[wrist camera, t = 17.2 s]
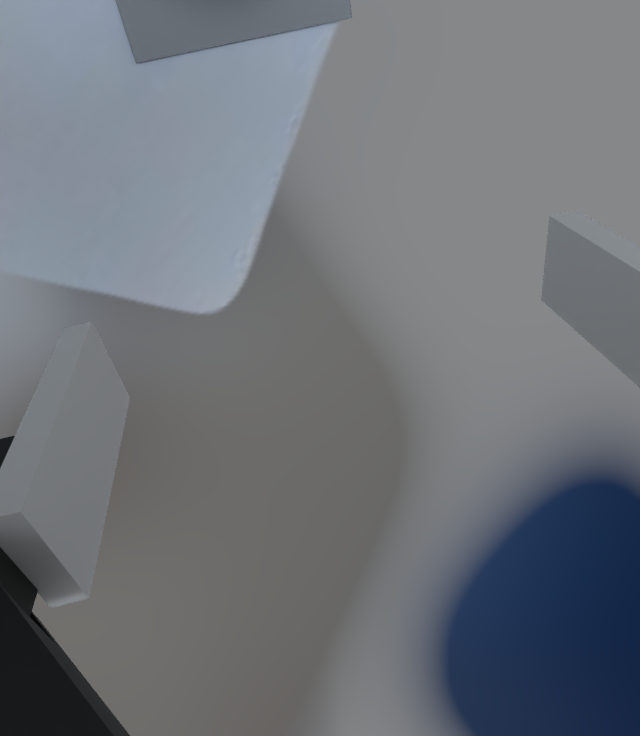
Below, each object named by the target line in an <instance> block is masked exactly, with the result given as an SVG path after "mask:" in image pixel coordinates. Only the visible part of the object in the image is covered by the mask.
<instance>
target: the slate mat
mask: <svg viewBox="0 0 640 736" xmlns="http://www.w3.org/2000/svg"><path fill="white" fill-rule="evenodd" d="M116 3H117V6H118V9H119V12H120V15H121V18H122V21H123V24H124V27H125V30H126V33H127V36H128V40H129V43H130V46H131V49H132V52H133V55H134V58H135V61H136V63H140V62H144V61H149V60H154V59H159V58H163V57H168V56H173V55H178V54H182V53H187V52H192V51H197V50H201V49H206V48H211V47H216V46H220V45H225V44H230V43H235V42H239V41H244V40H249V39H254V38H258V37H263V36H268V35H273V34H277V33H282V32H287V31H292V30H296V29H301V28H306V27H311V26H315V25H320V24H325V23H330V22H334V21H339V20H344V19H348V18H352V13H351V4H350V0H116Z"/></svg>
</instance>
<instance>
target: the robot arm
mask: <svg viewBox="0 0 640 736" xmlns="http://www.w3.org/2000/svg"><path fill="white" fill-rule="evenodd" d="M544 266H545V267H544V276H543V286H542V297H541V300H542V301H543V302H544V303H545V304H546V305H547V306H548V307H550V308H551V309H552V310H553V311H554V312H555V313H556V314H557V315H559V316H560V317H561V318H562V319H563V320H564V321H565V322H566V323H568V324H569V325H570V326H571V327H572V328H573V329H574V330H575V331H577V332H578V333H579V334H580V335H581V336H582V337H583V338H585V339H586V340H587V341H588V342H589V343H590V344H591V345H592V346H593V347H595V348H596V349H597V350H598V351H599V352H600V353H601V354H603V355H604V356H605V357H606V358H607V359H608V360H609V361H610V362H611V363H613V364H614V365H615V366H616V367H617V368H618V369H619V370H620V371H622V372H623V373H624V374H625V375H626V376H627V377H628V378H629V379H631V380H632V381H633V382H634V383H635V384H636V385H637V386H638V387H639V388H640V246H639V245H637V244H635V243H633V242H632V241H630V240H628V239H626V238H624V237H623V236H621V235H619V234H617V233H616V232H614V231H612V230H610V229H608V228H607V227H605V226H603V225H601V224H600V223H598V222H596V221H594V220H592V219H591V218H589V217H587V216H585V215H583V214H582V213H580V212H578V211H576V210H572V211H568V212H563V213H559V214H554V215H550V216H549V225H548V234H547V245H546V255H545V265H544ZM129 400H130V398H129V395H128V393H127V391H126V389H125V387H124V385H123V383H122V381H121V379H120V377H119V375H118V373H117V371H116V369H115V367H114V365H113V363H112V361H111V359H110V357H109V355H108V353H107V351H106V349H105V347H104V345H103V343H102V341H101V339H100V337H99V335H98V333H97V331H96V329H95V326H94V325H93V323H92V322H87V323H83V324H79V325H74V326H70V327H65V328H64V329H63V331H62V334H61V336H60V338H59V340H58V342H57V345H56V347H55V349H54V351H53V353H52V356H51V358H50V360H49V362H48V365H47V367H46V369H45V371H44V373H43V376H42V378H41V380H40V382H39V385H38V386H37V389H36V391H35V393H34V395H33V398H32V400H31V402H30V404H29V406H28V408H27V411H26V413H25V415H24V418H23V419H22V422H21V424H20V426H19V428H18V430H17V433H16V435H15V436H11V437H7V438H3V439H0V736H130V735H129V734H128V733H127V731H126V730H125V729H124V727H123V726H122V725H121V724H120V722H119V721H118V720H117V718H116V717H115V716H114V715H113V713H112V712H111V711H110V710H109V708H108V707H107V706H106V704H105V703H104V702H103V701H102V699H101V698H100V697H99V696H98V694H97V693H96V692H95V691H94V689H93V688H92V687H91V685H90V684H89V683H88V682H87V680H86V679H85V678H84V677H83V675H82V674H81V672H80V671H79V670H78V669H77V667H76V666H75V665H74V664H73V662H72V661H71V660H70V658H69V657H68V656H67V655H66V654H65V652H64V651H63V650H62V648H61V647H60V646H59V644H58V643H57V642H56V641H55V639H54V638H53V637H52V636H51V634H50V633H49V632H48V631H47V629H46V628H45V627H44V625H43V624H42V623H41V621H40V620H39V619H38V618H37V617H36V616H35V615H34V614H33V612H32V608H33V605H34V601H35V598H36V595H37V592H38V594H40V596H41V597H42V598H43V599H44V600H45V601H46V603H47V604H48V605H49V606H50V607H51V608H52V607H56V606H60V605H64V604H68V603H72V602H76V601H80V600H84V599H88V598H89V595H90V591H91V585H92V581H93V576H94V571H95V566H96V561H97V556H98V552H99V547H100V542H101V537H102V532H103V527H104V522H105V517H106V512H107V508H108V503H109V498H110V493H111V488H112V483H113V478H114V473H115V469H116V464H117V458H118V454H119V449H120V444H121V439H122V434H123V429H124V425H125V420H126V414H127V409H128V405H129Z"/></svg>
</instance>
